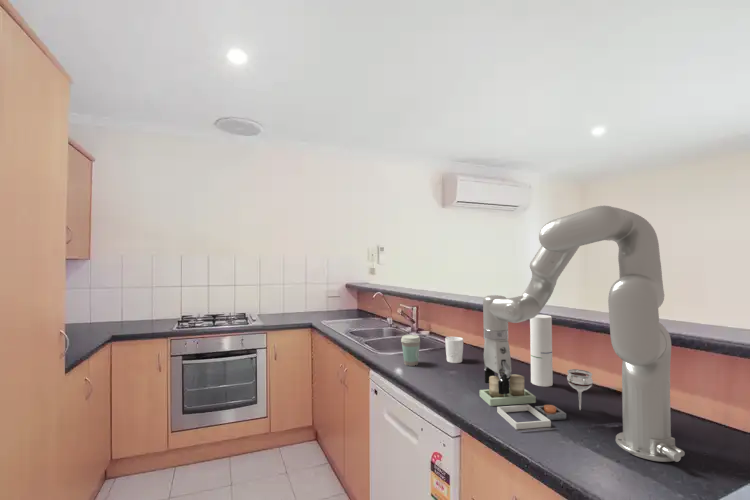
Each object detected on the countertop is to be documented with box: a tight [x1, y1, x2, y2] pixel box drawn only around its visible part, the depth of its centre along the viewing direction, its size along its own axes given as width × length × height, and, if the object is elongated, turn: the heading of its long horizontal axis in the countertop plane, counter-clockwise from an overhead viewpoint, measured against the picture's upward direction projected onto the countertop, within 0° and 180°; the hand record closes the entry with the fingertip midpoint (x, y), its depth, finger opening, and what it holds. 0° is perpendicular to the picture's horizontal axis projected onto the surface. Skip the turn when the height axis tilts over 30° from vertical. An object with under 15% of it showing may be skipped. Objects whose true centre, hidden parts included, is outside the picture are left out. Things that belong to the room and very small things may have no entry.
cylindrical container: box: [529, 314, 554, 388], centre depth 135 cm, size 7×7×25 cm
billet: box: [488, 375, 504, 398], centre depth 120 cm, size 4×4×7 cm
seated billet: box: [509, 374, 525, 396], centre depth 121 cm, size 4×4×7 cm
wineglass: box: [566, 368, 594, 411], centre depth 112 cm, size 7×7×12 cm
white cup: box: [444, 336, 464, 364], centre depth 167 cm, size 8×8×10 cm
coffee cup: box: [400, 334, 421, 367], centre depth 163 cm, size 8×8×12 cm
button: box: [543, 404, 557, 413], centre depth 108 cm, size 3×3×3 cm
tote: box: [496, 404, 552, 432], centre depth 106 cm, size 11×10×2 cm
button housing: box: [534, 404, 567, 421], centre depth 108 cm, size 6×6×2 cm
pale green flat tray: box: [479, 387, 537, 407], centre depth 120 cm, size 8×15×3 cm, turn 98°
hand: (496, 388), depth 120 cm, fingers open, 9 cm apart
